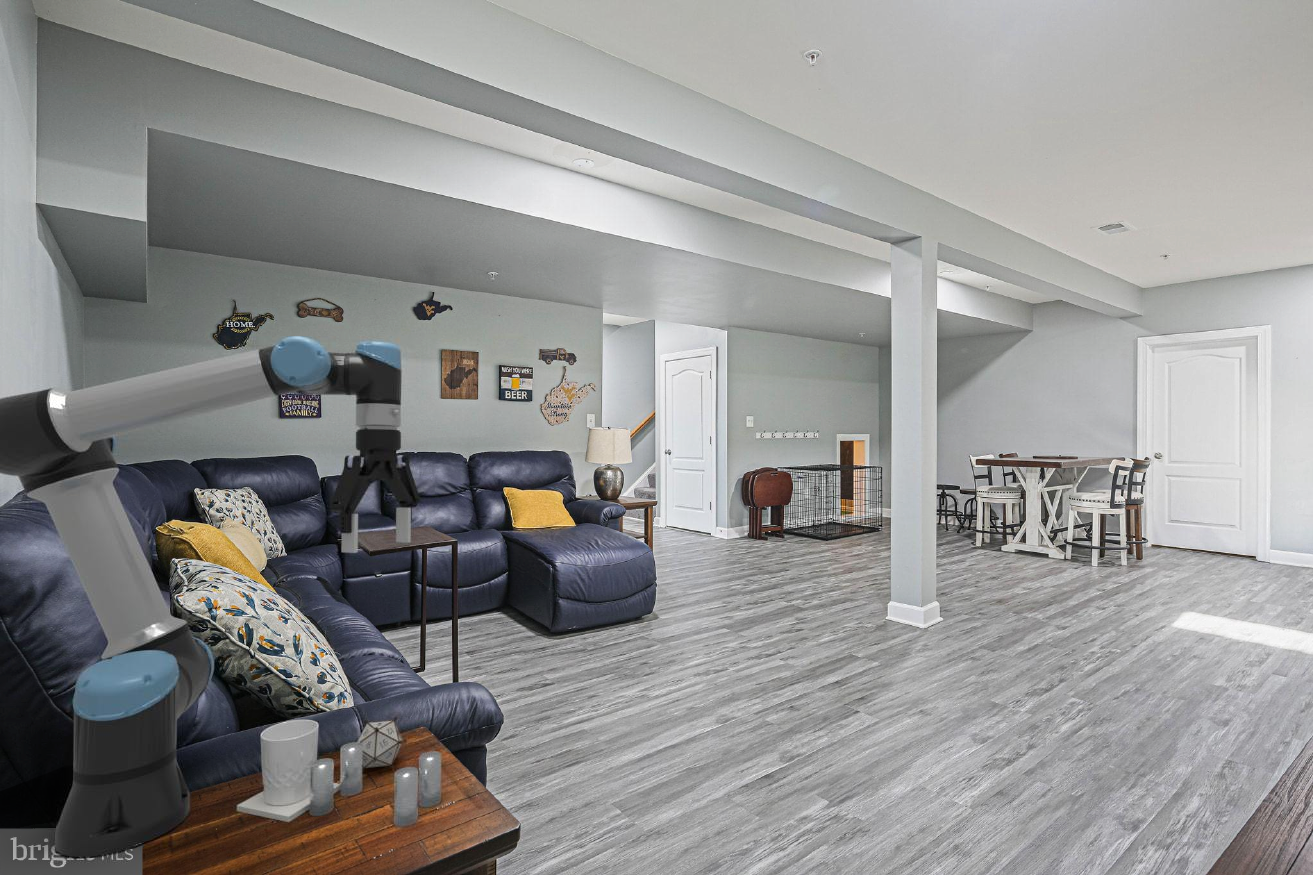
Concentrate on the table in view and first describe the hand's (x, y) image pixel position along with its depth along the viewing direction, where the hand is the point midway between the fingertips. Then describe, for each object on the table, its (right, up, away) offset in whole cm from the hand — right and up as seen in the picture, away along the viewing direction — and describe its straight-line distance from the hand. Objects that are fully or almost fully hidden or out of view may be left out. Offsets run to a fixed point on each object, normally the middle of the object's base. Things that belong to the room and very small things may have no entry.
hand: (377, 547), depth 120 cm
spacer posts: (+7, -36, -19) cm, 41 cm away
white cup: (-7, -36, -17) cm, 40 cm away
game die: (+3, -37, -6) cm, 37 cm away
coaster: (-7, -36, -17) cm, 40 cm away
